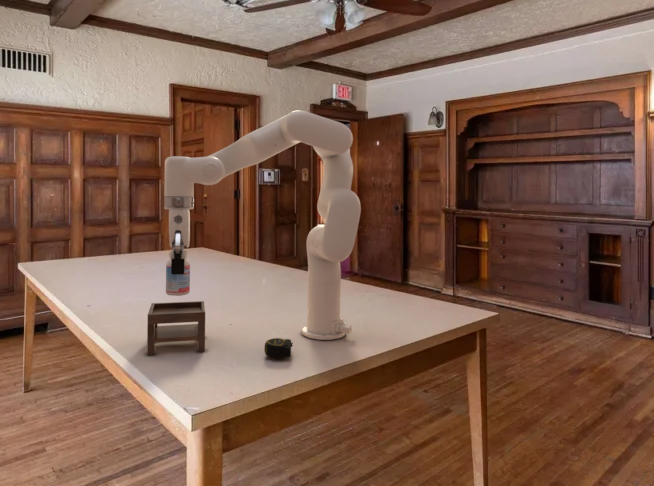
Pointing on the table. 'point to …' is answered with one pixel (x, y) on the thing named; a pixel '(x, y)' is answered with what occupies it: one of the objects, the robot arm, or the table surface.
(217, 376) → the table surface
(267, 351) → the tape measure
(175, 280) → the pill bottle
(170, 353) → the table surface
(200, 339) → the rack
